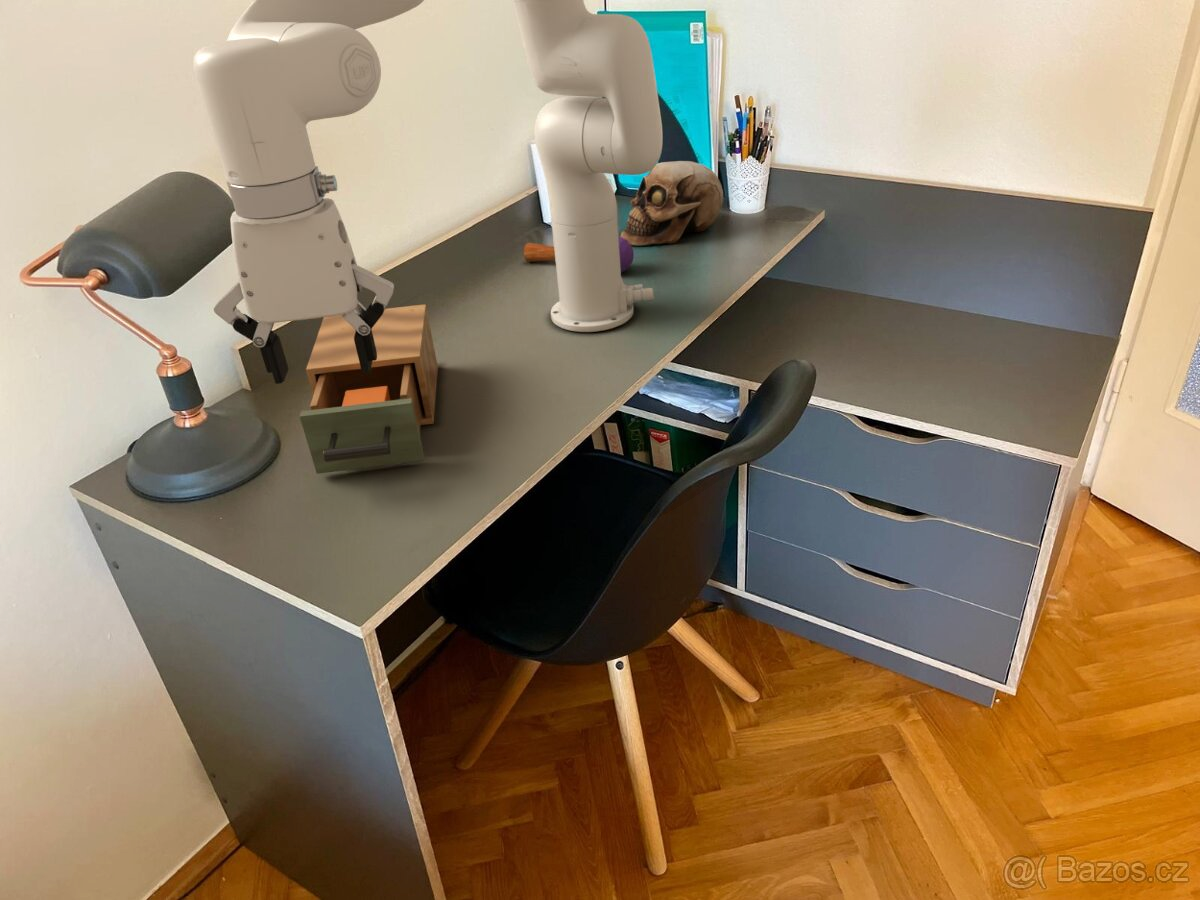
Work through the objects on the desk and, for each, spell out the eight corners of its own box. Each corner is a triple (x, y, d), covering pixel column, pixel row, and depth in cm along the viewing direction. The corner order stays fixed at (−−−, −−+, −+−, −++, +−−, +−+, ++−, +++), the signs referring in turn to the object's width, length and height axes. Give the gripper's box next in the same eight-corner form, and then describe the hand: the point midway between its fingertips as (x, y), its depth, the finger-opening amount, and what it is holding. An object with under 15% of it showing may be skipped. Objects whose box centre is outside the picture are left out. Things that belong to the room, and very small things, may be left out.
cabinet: (433, 423, 114) (419, 356, 108) (325, 436, 113) (305, 369, 107) (437, 366, 127) (425, 304, 121) (340, 378, 126) (324, 315, 121)
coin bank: (612, 242, 162) (613, 166, 156) (654, 221, 175) (657, 150, 169) (692, 255, 156) (697, 176, 149) (729, 232, 169) (735, 159, 162)
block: (395, 420, 111) (387, 385, 108) (392, 442, 107) (383, 406, 104) (354, 425, 111) (345, 390, 108) (350, 447, 106) (340, 411, 104)
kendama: (536, 232, 158) (638, 234, 149) (539, 266, 161) (640, 270, 152) (518, 237, 154) (622, 240, 145) (521, 272, 156) (624, 277, 147)
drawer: (421, 484, 101) (408, 425, 96) (310, 498, 100) (291, 439, 96) (429, 399, 117) (418, 346, 113) (333, 411, 116) (318, 357, 112)
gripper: (381, 172, 82) (416, 345, 92) (187, 192, 81) (243, 365, 91) (373, 197, 76) (411, 379, 86) (163, 219, 75) (226, 401, 85)
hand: (325, 371), depth 88 cm, fingers open, 7 cm apart
